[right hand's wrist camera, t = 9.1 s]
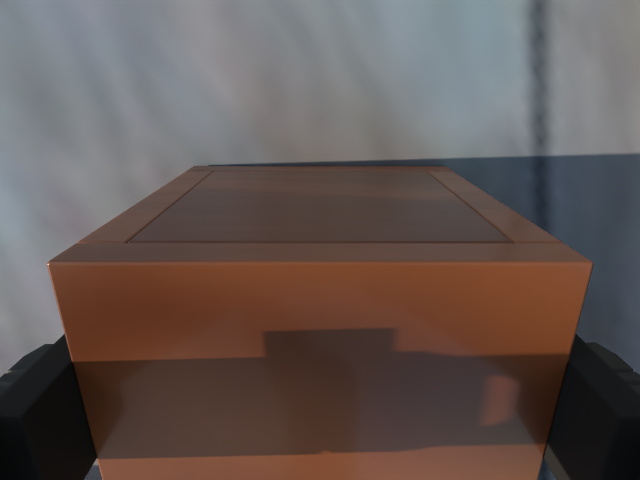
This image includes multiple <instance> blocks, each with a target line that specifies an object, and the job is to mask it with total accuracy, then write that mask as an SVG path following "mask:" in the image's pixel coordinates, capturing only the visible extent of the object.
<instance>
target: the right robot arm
mask: <svg viewBox="0 0 640 480" xmlns="http://www.w3.org/2000/svg"><path fill="white" fill-rule="evenodd" d="M96 458H97V457H96V453H95V449H94V445H93V441H92V437H91V433H90V430H89V426H88V422H87V418H86V414H85V410H84V406H83V402H82V398H81V395H80V391H79V387H78V383H77V379H76V375H75V371H74V367H73V364H72V360H71V356H70V352H69V348H68V344H67V340H66V336H65V334H64V335H63V336H62V337H61V338H60V339H59V340H58V341H57V342H56V343H55V344H45V345H43V346H41V347H40V348H38V349H36V350H34V351H32V352H31V353H29V354H27V355H25V356H24V357H23V358H22V359H20V360H19V361H18V362H17V363H16V364H15V365H14V366H13V367H12V368H11V369H9V370H8V373H7V374H4V375H3V376H2V377H1V378H0V480H84V478H85V477H86V475H87V473H88V472H89V470H90V468H91V467H92V465H93V463H94V462H95V460H96ZM543 458H544V459H545V461H546V463H547V464H548V466H549V468H550V469H551V471H552V473H553V474H554V476H555V478H556V479H557V480H640V375H639V374H638V373H636V372H633V369H632V368H631V367H630V366H629V365H628V364H626V363H625V362H624V361H623V360H622V359H621V358H620V357H619V356H618V355H616V354H614V353H612V352H611V351H609V350H607V349H605V348H604V347H602V346H600V345H598V344H597V343H585V342H584V341H583V340H582V339H581V338H580V337H579V336H578V335H577V334H575V338H574V342H573V346H572V350H571V353H570V357H569V361H568V365H567V369H566V373H565V377H564V380H563V384H562V388H561V392H560V396H559V400H558V403H557V407H556V411H555V415H554V419H553V423H552V426H551V430H550V434H549V438H548V442H547V446H546V450H545V453H544V457H543Z"/></svg>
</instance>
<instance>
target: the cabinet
mask: <svg viewBox="0 0 640 480" xmlns="http://www.w3.org/2000/svg"><path fill="white" fill-rule="evenodd" d="M47 266H48V270H49V274H50V278H51V282H52V286H53V290H54V294H55V298H56V301H57V305H58V309H59V313H60V317H61V321H62V325H63V329H64V332H65V336H66V340H67V344H68V348H69V352H70V356H71V360H72V364H73V367H74V371H75V375H76V379H77V383H78V387H79V391H80V395H81V398H82V402H83V406H84V410H85V414H86V418H87V422H88V426H89V430H90V433H91V437H92V441H93V445H94V449H95V453H96V457H97V461H98V464H99V468H100V472H101V476H102V480H538V476H539V473H540V469H541V465H542V461H543V457H544V453H545V450H546V446H547V442H548V438H549V434H550V430H551V426H552V423H553V419H554V415H555V411H556V407H557V403H558V400H559V396H560V392H561V388H562V384H563V380H564V377H565V373H566V369H567V365H568V361H569V357H570V353H571V350H572V346H573V342H574V338H575V334H576V330H577V327H578V323H579V319H580V315H581V311H582V307H583V303H584V300H585V296H586V292H587V288H588V284H589V280H590V277H591V273H592V269H593V262H592V261H591V260H589V259H588V258H586V257H584V256H583V255H581V254H580V253H578V252H577V251H575V250H574V249H572V248H571V247H569V246H567V245H566V244H564V243H562V242H561V241H560V240H558V239H557V238H555V237H554V236H552V235H551V234H549V233H547V232H546V231H544V230H543V229H541V228H540V227H538V226H537V225H535V224H534V223H532V222H530V221H529V220H527V219H526V218H524V217H523V216H521V215H520V214H518V213H517V212H515V211H513V210H512V209H510V208H509V207H507V206H506V205H504V204H503V203H501V202H500V201H498V200H496V199H495V198H493V197H492V196H490V195H489V194H487V193H486V192H484V191H483V190H481V189H479V188H478V187H476V186H475V185H473V184H472V183H470V182H469V181H467V180H466V179H464V178H462V177H461V176H459V175H458V174H456V173H455V172H453V171H452V170H451V169H449V168H447V167H446V166H194V167H192V168H190V169H189V170H187V171H186V172H185V173H183V174H182V175H180V176H178V177H177V178H175V179H174V180H172V181H171V182H169V183H168V184H166V185H165V186H163V187H162V188H160V189H158V190H157V191H155V192H154V193H152V194H151V195H149V196H148V197H146V198H145V199H143V200H142V201H140V202H138V203H137V204H135V205H134V206H132V207H131V208H129V209H128V210H126V211H125V212H123V213H122V214H120V215H118V216H117V217H115V218H114V219H112V220H111V221H109V222H108V223H106V224H105V225H103V226H102V227H100V228H98V229H97V230H95V231H94V232H92V233H91V234H89V235H88V236H86V237H85V238H83V239H82V240H80V241H78V243H77V244H74V245H73V246H71V247H70V248H68V249H67V250H65V251H64V252H62V253H61V254H59V255H57V256H56V257H54V258H53V259H51V260H50V261H48V263H47Z"/></svg>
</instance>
